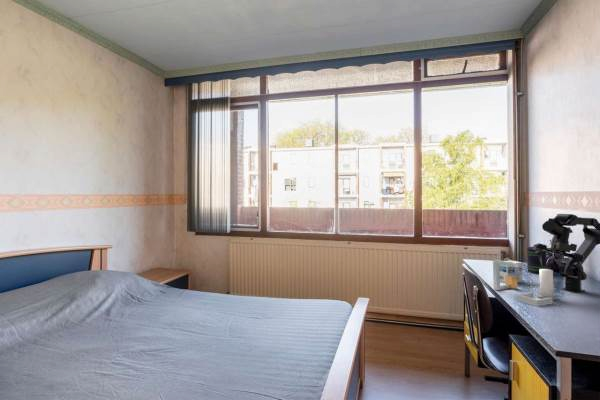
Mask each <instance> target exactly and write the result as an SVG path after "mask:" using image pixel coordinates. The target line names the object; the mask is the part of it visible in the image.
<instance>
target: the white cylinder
mask: <svg viewBox="0 0 600 400" xmlns="http://www.w3.org/2000/svg"><path fill="white" fill-rule="evenodd" d="M538 275H539V276H538V277H539V293H537V298H539V299H544V298H552V300H553V301H556V299H557V296H556V295H554V270H553V269H549V268H547V269H539V274H538Z"/></svg>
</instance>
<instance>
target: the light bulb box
mask: <svg viewBox="0 0 600 400" xmlns="http://www.w3.org/2000/svg"><path fill="white" fill-rule="evenodd" d="M505 262H510V263H515V264H518V267H511V266H506V265H501V264H500V283H501V282H502V283H505V284H506V277H505V276H506V275H513V276H517V283H523V262H521V261H517V260H505Z"/></svg>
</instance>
